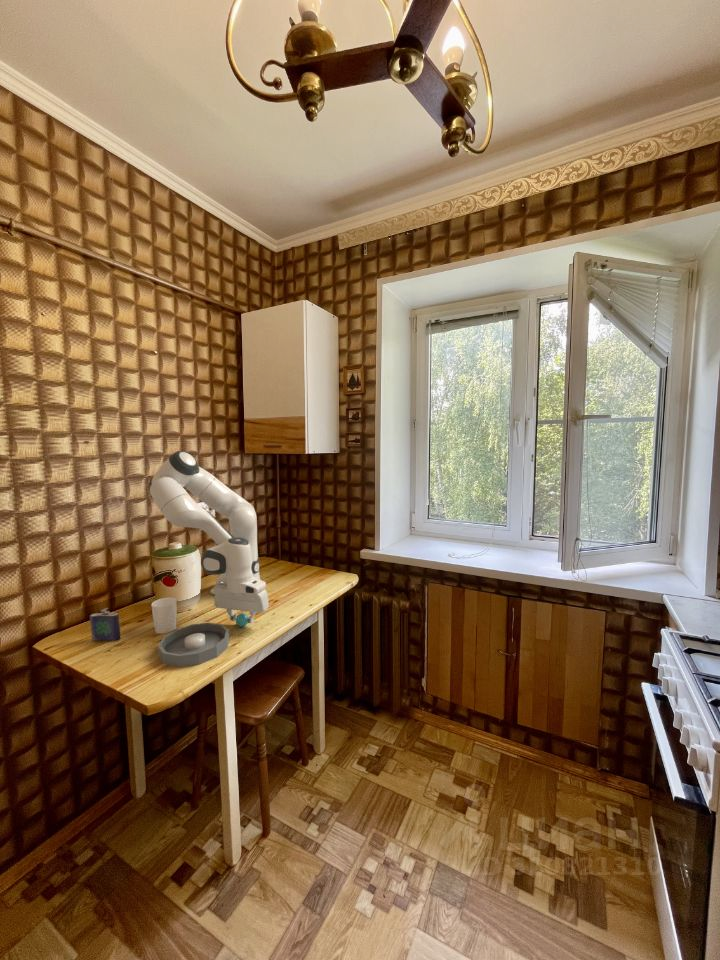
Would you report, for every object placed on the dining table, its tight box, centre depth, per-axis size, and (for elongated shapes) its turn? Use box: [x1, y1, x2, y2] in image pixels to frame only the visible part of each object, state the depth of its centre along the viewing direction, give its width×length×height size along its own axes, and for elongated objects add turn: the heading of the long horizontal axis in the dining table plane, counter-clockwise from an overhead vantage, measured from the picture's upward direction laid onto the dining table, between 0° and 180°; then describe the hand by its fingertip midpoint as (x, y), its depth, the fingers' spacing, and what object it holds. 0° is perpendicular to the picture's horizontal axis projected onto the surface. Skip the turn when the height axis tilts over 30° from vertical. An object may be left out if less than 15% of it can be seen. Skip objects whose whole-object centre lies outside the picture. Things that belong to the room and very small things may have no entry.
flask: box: [89, 607, 122, 643], centre depth 128 cm, size 9×3×11 cm, turn 90°
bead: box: [235, 612, 249, 628], centre depth 136 cm, size 4×4×4 cm
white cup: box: [151, 597, 178, 635], centre depth 134 cm, size 8×8×10 cm
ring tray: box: [157, 622, 230, 668], centre depth 122 cm, size 20×20×4 cm
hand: (241, 621), depth 136 cm, fingers open, 6 cm apart
